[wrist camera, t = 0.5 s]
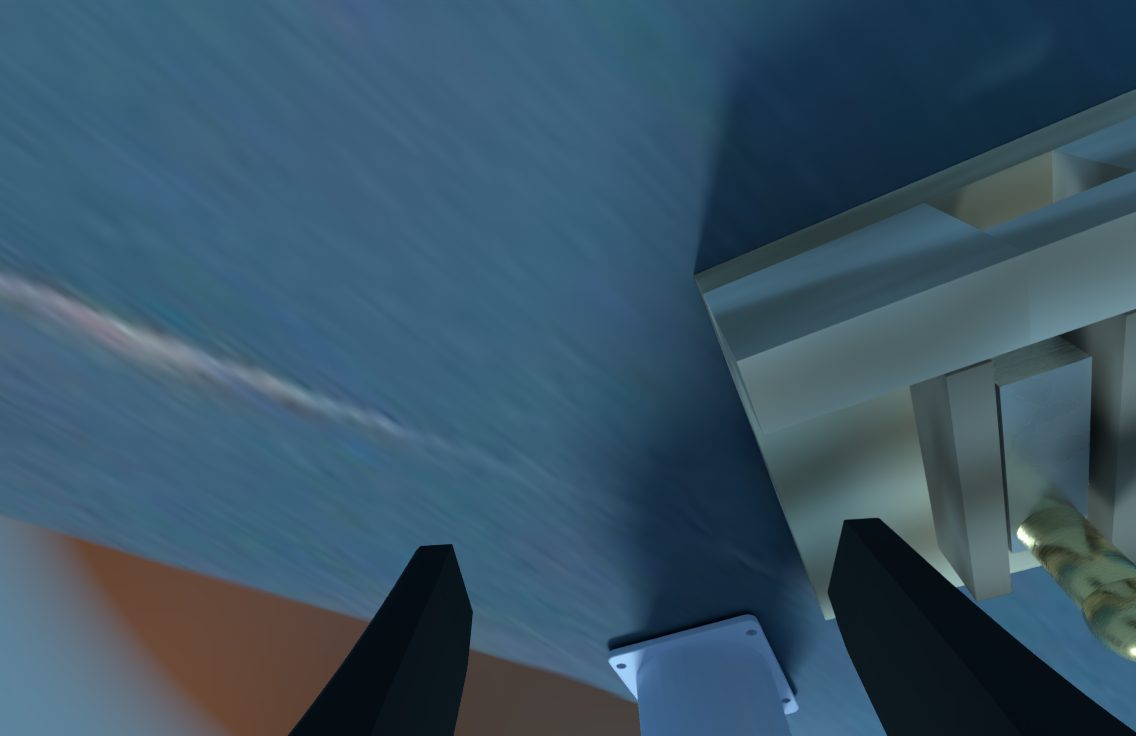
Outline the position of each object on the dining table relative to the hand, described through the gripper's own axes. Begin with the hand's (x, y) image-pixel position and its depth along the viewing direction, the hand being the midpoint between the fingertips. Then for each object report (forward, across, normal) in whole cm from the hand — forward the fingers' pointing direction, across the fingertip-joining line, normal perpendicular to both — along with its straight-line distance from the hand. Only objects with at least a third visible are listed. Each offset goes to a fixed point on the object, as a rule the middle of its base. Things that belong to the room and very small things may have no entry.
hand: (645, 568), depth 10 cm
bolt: (+9, -14, +5) cm, 17 cm away
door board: (+10, -13, +4) cm, 17 cm away
